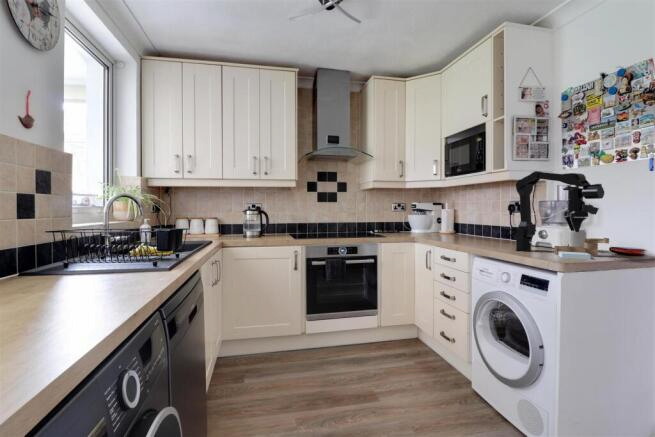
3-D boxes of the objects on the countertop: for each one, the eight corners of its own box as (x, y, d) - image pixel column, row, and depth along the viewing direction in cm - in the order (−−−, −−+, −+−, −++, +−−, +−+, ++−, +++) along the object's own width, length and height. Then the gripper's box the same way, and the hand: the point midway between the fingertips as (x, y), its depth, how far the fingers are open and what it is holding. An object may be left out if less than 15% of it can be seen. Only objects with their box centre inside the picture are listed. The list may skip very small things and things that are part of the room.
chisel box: (556, 254, 159) (556, 238, 159) (554, 253, 164) (554, 237, 164) (597, 256, 152) (597, 239, 151) (593, 255, 157) (594, 238, 157)
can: (589, 251, 169) (589, 229, 169) (573, 251, 171) (573, 229, 170) (580, 250, 176) (581, 228, 176) (565, 249, 178) (566, 228, 178)
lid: (561, 258, 150) (562, 253, 150) (558, 256, 157) (558, 251, 157) (590, 260, 145) (590, 254, 145) (586, 257, 152) (586, 252, 152)
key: (588, 242, 154) (588, 237, 154) (586, 242, 157) (587, 237, 157) (609, 243, 151) (609, 238, 150) (606, 242, 153) (606, 237, 153)
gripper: (603, 198, 138) (602, 233, 139) (591, 199, 155) (590, 230, 155) (571, 198, 143) (571, 232, 144) (563, 199, 160) (562, 230, 160)
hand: (574, 231), depth 151 cm, fingers open, 9 cm apart
